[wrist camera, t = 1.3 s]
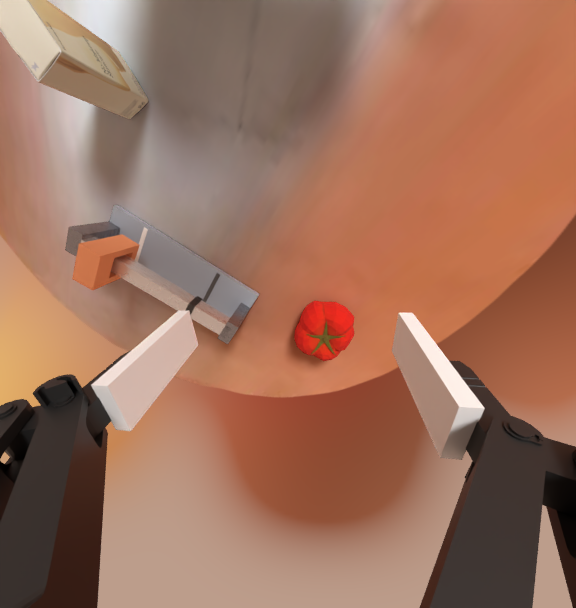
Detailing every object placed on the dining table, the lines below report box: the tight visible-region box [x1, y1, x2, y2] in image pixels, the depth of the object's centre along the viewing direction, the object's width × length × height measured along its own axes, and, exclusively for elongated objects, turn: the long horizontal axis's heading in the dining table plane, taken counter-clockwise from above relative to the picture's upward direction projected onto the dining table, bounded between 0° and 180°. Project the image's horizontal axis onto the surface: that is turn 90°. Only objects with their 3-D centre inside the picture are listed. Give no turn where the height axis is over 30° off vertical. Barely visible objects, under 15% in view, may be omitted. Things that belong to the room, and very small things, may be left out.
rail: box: [65, 221, 250, 344], centre depth 39 cm, size 28×4×7 cm, turn 57°
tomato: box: [294, 301, 354, 361], centre depth 41 cm, size 10×11×6 cm
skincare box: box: [0, 0, 148, 119], centre depth 27 cm, size 6×4×12 cm
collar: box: [72, 234, 140, 290], centre depth 35 cm, size 3×6×8 cm, turn 147°
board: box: [110, 205, 259, 317], centre depth 43 cm, size 28×10×1 cm, turn 57°
